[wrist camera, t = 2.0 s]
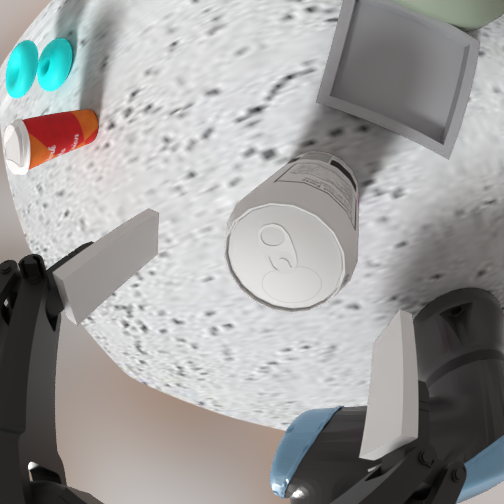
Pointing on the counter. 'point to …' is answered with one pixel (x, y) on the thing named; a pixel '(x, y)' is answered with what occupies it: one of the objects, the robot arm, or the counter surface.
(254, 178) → the counter surface
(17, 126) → the paper cup
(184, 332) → the counter surface
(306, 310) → the supplement can
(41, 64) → the donuts
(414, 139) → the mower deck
